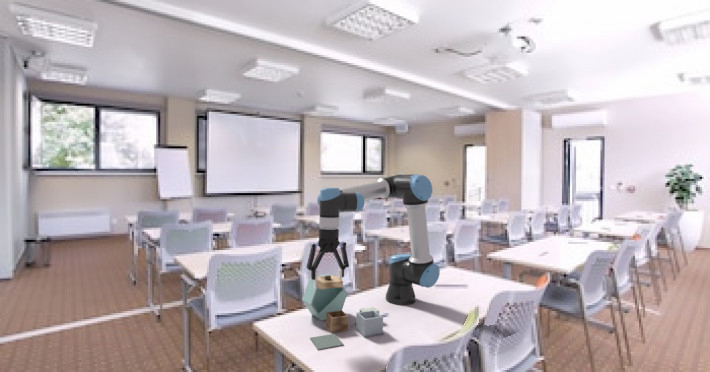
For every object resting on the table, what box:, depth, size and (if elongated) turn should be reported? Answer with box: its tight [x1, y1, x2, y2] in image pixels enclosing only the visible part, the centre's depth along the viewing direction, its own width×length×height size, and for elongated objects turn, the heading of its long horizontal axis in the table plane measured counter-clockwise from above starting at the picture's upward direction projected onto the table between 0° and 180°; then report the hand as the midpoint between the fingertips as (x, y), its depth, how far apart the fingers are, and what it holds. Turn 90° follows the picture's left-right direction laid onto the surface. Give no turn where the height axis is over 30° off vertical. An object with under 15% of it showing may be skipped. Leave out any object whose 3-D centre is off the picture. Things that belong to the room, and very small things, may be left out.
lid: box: [313, 274, 344, 289], centre depth 140 cm, size 9×9×3 cm
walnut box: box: [325, 309, 349, 334], centre depth 151 cm, size 7×7×6 cm
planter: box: [301, 273, 348, 321], centre depth 164 cm, size 17×8×21 cm
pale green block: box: [359, 306, 380, 314], centre depth 159 cm, size 7×5×5 cm
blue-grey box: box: [355, 310, 384, 338], centre depth 148 cm, size 8×8×7 cm
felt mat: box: [309, 333, 344, 351], centre depth 138 cm, size 10×10×1 cm
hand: (327, 286), depth 140 cm, fingers closed on lid, 9 cm apart
